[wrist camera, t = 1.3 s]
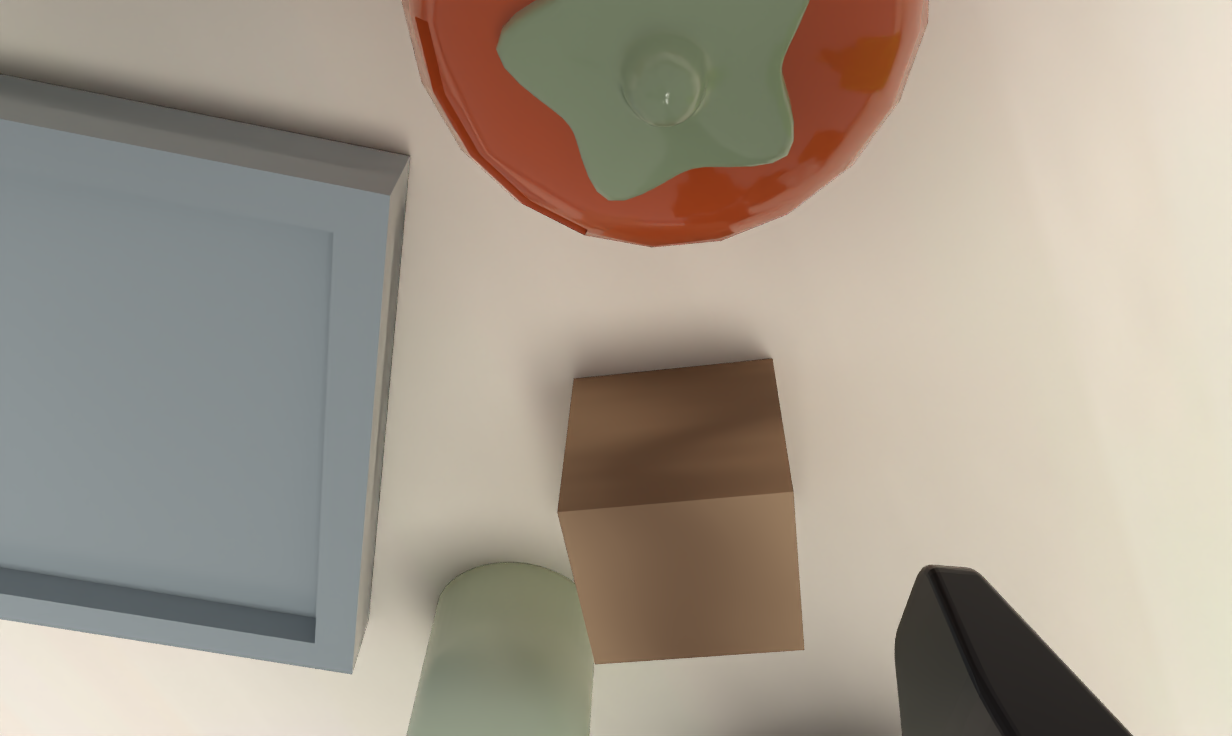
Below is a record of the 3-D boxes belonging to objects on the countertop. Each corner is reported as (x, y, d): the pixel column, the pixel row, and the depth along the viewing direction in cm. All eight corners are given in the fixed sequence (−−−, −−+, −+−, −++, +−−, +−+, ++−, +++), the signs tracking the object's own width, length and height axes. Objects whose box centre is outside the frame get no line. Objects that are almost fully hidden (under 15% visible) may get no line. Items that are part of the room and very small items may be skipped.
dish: (410, 156, 20) (389, 195, 19) (368, 620, 28) (352, 674, 27) (-338, 6, 19) (-422, 35, 18) (-161, 535, 27) (-209, 586, 25)
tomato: (361, -125, 17) (177, 8, 11) (739, -441, 15) (801, -521, 8) (609, 206, 21) (584, 461, 14) (952, -4, 18) (1117, 190, 12)
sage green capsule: (611, 577, 27) (599, 783, 22) (581, 682, 29) (565, 888, 24) (445, 549, 26) (396, 753, 22) (429, 657, 29) (382, 861, 24)
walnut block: (771, 356, 23) (793, 491, 19) (783, 504, 25) (804, 649, 22) (573, 376, 23) (557, 512, 20) (604, 519, 26) (595, 664, 22)
